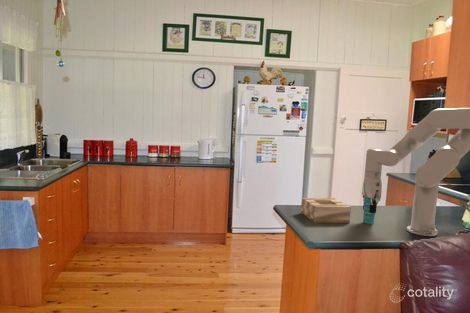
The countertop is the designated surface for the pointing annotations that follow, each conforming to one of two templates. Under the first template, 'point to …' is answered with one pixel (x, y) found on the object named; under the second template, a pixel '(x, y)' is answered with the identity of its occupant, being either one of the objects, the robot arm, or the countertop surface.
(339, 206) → the socket block
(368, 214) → the tube
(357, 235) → the countertop surface
